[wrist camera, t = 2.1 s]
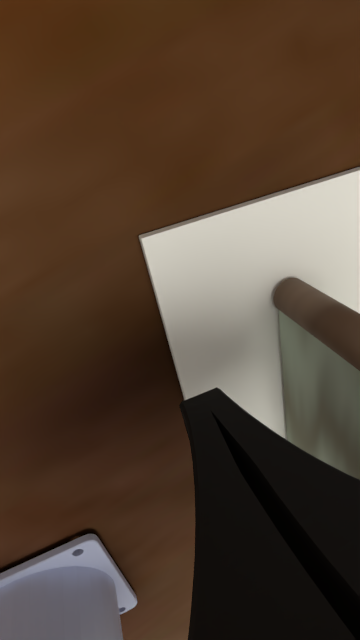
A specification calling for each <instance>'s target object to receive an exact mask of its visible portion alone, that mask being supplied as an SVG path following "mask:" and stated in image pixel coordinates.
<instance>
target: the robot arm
mask: <svg viewBox="0 0 360 640" xmlns="http://www.w3.org/2000/svg"><path fill="white" fill-rule="evenodd" d="M179 406H180V409H181V413H182V416H183V419H184V423H185V426H186V430H187V433H188V437H189V440H190V446H191V453H192V460H193V472H194V485H195V516H196V528H195V562H194V578H193V592H192V605H191V616H190V626H189V635H188V640H360V480H359V479H357V478H355V477H353V476H350V475H348V474H346V473H344V472H342V471H340V470H338V469H337V468H335V467H333V466H331V465H329V464H327V463H325V462H323V461H321V460H320V459H318V458H316V457H314V456H312V455H311V454H309V453H307V452H305V451H304V450H302V449H300V448H299V447H297V446H295V445H294V444H292V443H291V442H289V441H288V440H286V439H285V438H283V437H281V436H280V435H278V434H277V433H275V432H274V431H273V430H271V429H270V428H268V427H267V426H265V425H264V424H263V423H261V422H260V421H259V420H257V419H256V418H254V417H253V416H252V415H250V414H249V413H248V412H247V411H245V410H244V409H243V408H242V407H240V406H239V405H238V404H237V403H235V402H234V401H233V400H232V399H231V398H229V397H228V396H227V395H226V394H225V393H224V392H223V391H222V390H221V389H219V388H217V387H216V388H214V389H211V390H209V391H207V392H204V393H202V394H199V395H197V396H194V397H192V398H189V399H187V400H184V401H182V402H181V404H180V405H179ZM136 604H137V598H136V594H135V593H134V591H133V590H132V588H131V587H130V585H129V584H128V582H127V581H126V579H125V578H124V576H123V575H122V573H121V572H120V570H119V568H118V567H117V565H116V564H115V562H114V561H113V559H112V558H111V556H110V555H109V553H108V552H107V550H106V549H105V547H104V546H103V544H102V543H101V541H100V539H99V538H98V536H96V535H95V534H86V535H83V536H81V537H79V538H77V539H74V540H72V541H70V542H68V543H66V544H63V545H61V546H59V547H57V548H55V549H53V550H50V551H48V552H46V553H44V554H42V555H39V556H37V557H35V558H33V559H31V560H28V561H26V562H24V563H22V564H20V565H17V566H15V567H13V568H11V569H9V570H6V571H4V572H2V573H0V640H123V634H122V628H121V621H120V614H122V613H124V612H126V611H128V610H130V609H132V608H134V607H135V606H136Z"/></svg>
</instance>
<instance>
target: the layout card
mask: <svg viewBox="0 0 360 640" xmlns="http://www.w3.org/2000/svg"><path fill="white" fill-rule="evenodd" d="M138 236H139V240H140V243H141V247H142V250H143V254H144V257H145V261H146V265H147V268H148V272H149V275H150V279H151V282H152V286H153V290H154V293H155V297H156V300H157V304H158V307H159V311H160V315H161V318H162V322H163V325H164V329H165V332H166V336H167V340H168V343H169V347H170V350H171V354H172V357H173V361H174V365H175V368H176V372H177V375H178V379H179V383H180V386H181V390H182V393H183V397H184V400H187V399H189V398H192V397H194V396H197V395H199V394H202V393H204V392H207V391H209V390H211V389H214V388H216V387H217V388H219V389H221V390H222V391H223V392H224V393H225V394H226V395H227V396H228V397H229V398H231V399H232V400H233V401H234V402H235V403H237V404H238V405H239V406H240V407H242V408H243V409H244V410H245V411H247V412H248V413H249V414H250V415H252V416H253V417H254V418H256V419H257V420H259V421H260V422H261V423H263V424H264V425H265V426H267V427H268V428H270V429H271V430H273V431H274V432H275V433H277V434H278V435H280V436H281V437H283V438H285V439H286V440H287V429H286V414H285V399H284V384H283V369H282V354H281V339H280V324H279V310H278V309H277V308H276V307H275V305H274V302H273V296H274V293H275V290H276V289H277V287H278V286H279V285H280V284H281V283H282V282H283V281H285V280H286V279H289V278H298V279H300V280H302V281H304V282H305V283H307V284H309V285H311V286H312V287H314V288H316V289H318V290H319V291H321V292H323V293H325V294H326V295H328V296H330V297H332V298H333V299H335V300H337V301H338V302H340V303H342V304H344V305H345V306H347V307H349V308H351V309H352V310H354V311H356V312H358V313H359V314H360V167H357V168H354V169H350V170H347V171H344V172H341V173H338V174H334V175H331V176H328V177H325V178H322V179H318V180H315V181H312V182H309V183H305V184H302V185H299V186H296V187H293V188H289V189H286V190H283V191H280V192H277V193H273V194H270V195H267V196H264V197H261V198H257V199H254V200H251V201H248V202H244V203H241V204H238V205H235V206H232V207H228V208H225V209H222V210H219V211H216V212H212V213H209V214H206V215H203V216H199V217H196V218H193V219H190V220H187V221H183V222H180V223H177V224H174V225H171V226H167V227H164V228H161V229H158V230H154V231H151V232H148V233H145V234H142V235H138Z"/></svg>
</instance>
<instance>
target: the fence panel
mask: <svg viewBox="0 0 360 640" xmlns="http://www.w3.org/2000/svg"><path fill="white" fill-rule="evenodd" d="M273 302H274V305H275V307H276V308H277V309H278V310H279V324H280V339H281V354H282V369H283V384H284V399H285V414H286V429H287V440H288V441H289V442H291V443H292V444H294V445H295V446H297V447H299V448H300V449H302V450H304V451H305V452H307V453H309V454H311V455H312V456H314V457H316V458H318V459H320V460H321V461H323V462H325V463H327V464H329V465H331V466H333V467H335V468H337V469H338V470H340V471H342V472H344V473H346V474H348V475H350V476H353V477H355V478H357V479H359V480H360V314H359V313H358V312H356V311H354V310H352V309H351V308H349V307H347V306H345V305H344V304H342V303H340V302H338V301H337V300H335V299H333V298H332V297H330V296H328V295H326V294H325V293H323V292H321V291H319V290H318V289H316V288H314V287H312V286H311V285H309V284H307V283H305V282H304V281H302V280H300V279H298V278H289V279H286V280H285V281H283V282H282V283H281V284H280V285H279V286H278V287H277V289H276V290H275V293H274V296H273Z"/></svg>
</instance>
